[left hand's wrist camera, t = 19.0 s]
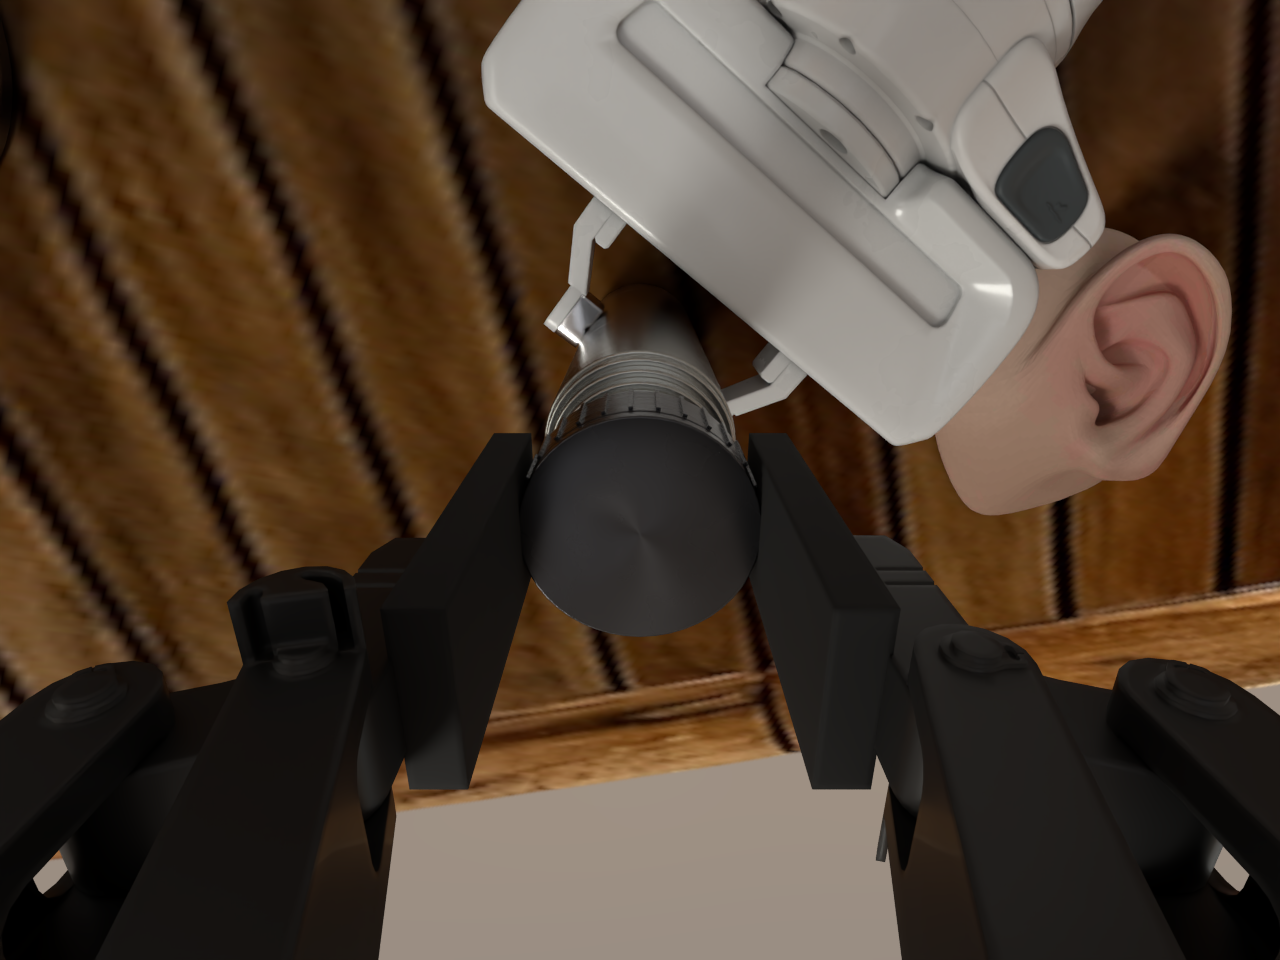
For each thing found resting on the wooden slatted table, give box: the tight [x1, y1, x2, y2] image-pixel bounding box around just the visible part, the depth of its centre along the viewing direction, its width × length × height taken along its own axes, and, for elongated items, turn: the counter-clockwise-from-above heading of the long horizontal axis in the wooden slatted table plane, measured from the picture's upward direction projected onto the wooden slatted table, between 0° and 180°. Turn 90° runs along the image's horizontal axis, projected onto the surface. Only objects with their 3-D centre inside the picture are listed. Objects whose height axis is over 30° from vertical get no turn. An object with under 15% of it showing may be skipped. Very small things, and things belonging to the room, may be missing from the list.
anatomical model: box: [935, 228, 1232, 515], centre depth 31 cm, size 13×4×12 cm
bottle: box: [545, 284, 736, 442], centre depth 22 cm, size 5×5×20 cm
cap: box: [519, 389, 761, 637], centre depth 13 cm, size 5×5×2 cm
